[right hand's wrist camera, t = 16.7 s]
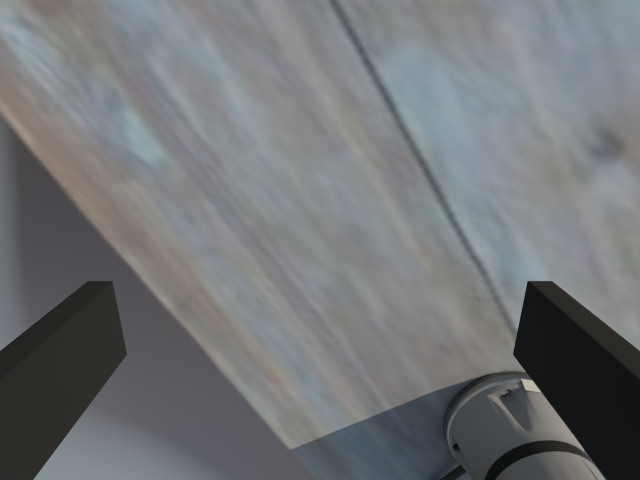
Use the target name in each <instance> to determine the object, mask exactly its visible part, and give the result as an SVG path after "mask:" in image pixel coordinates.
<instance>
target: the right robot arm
mask: <svg viewBox="0 0 640 480" xmlns="http://www.w3.org/2000/svg"><path fill="white" fill-rule="evenodd" d="M126 355H127V352H126V347H125V342H124V337H123V332H122V327H121V322H120V317H119V312H118V307H117V302H116V297H115V293H114V287H113V282H112V281H88V282H87V283H85V284H84V285H83V286H81V287H80V288H79V289H78V290H76V291H75V292H74V293H73V294H71V295H70V296H69V297H68V298H66V299H65V300H64V301H63V302H61V303H60V304H59V305H58V306H56V307H55V308H54V309H53V310H51V311H50V312H49V313H47V314H46V315H45V316H44V317H43V318H41V319H40V320H39V321H37V322H36V323H35V324H34V325H32V326H31V327H30V328H29V329H27V330H26V331H25V332H24V333H22V334H21V335H20V336H19V337H17V338H16V339H15V340H14V341H12V342H11V343H10V344H9V345H7V346H6V347H5V348H3V349H2V350H1V351H0V480H33V479H34V478H35V477H36V475H37V474H38V473H39V471H40V470H41V469H42V467H43V466H44V465H45V463H46V462H47V461H48V459H49V458H50V457H51V455H52V454H53V453H54V451H55V450H56V449H57V447H58V446H59V444H60V443H61V442H62V441H63V439H64V438H65V437H66V435H67V434H68V433H69V431H70V430H71V428H72V427H73V426H74V425H75V423H76V422H77V421H78V419H79V418H80V417H81V415H82V414H83V413H84V411H85V410H86V409H87V407H88V406H89V404H90V403H91V402H92V401H93V399H94V398H95V396H96V395H97V394H98V392H99V391H100V390H101V388H102V387H103V386H104V385H105V383H106V382H107V380H108V379H109V378H110V376H111V375H112V374H113V372H114V371H115V370H116V368H117V367H118V366H119V364H120V363H121V362H122V360H123V359H124V358H125V356H126ZM513 355H514V356H515V358H516V359H517V360H518V362H519V363H520V364H521V366H522V367H523V368H524V370H525V371H526V372H527V373H525V372H502V373H496V374H492V375H489V376H486V377H483V378H481V379H479V380H477V381H475V382H473V383H471V384H470V385H468V386H467V387H466V388H464V389H463V390H462V391H461V392H460V393H459V394H458V395H457V396H456V397H455V398H454V399H453V401H452V402H451V404H450V405H449V407H448V409H447V411H446V414H445V418H444V433H445V437H446V439H447V442H448V445H449V448H450V450H451V452H452V454H453V456H454V457H455V459H456V460H457V461H458V462H459V463H460V464H461V465H460V466H458V467H457V468H456V469H454V470H453V471H452V472H450V473H449V474H447V475H446V476H445V477H443V478H441V479H440V480H455V479H457V478H458V477H460V476H461V475H462V474H464V473H465V472H467V473H468V474H469V475H470V476H471V478H472V479H473V480H605V479H604V477H605V478H606V479H607V480H640V351H639V350H638V349H637V348H635V347H634V346H633V345H632V344H630V343H629V342H628V341H627V340H625V339H624V338H623V337H621V336H620V335H619V334H618V333H616V332H615V331H614V330H613V329H611V328H610V327H609V326H608V325H606V324H605V323H604V322H603V321H601V320H600V319H599V318H598V317H596V316H595V315H594V314H593V313H591V312H590V311H589V310H588V309H586V308H585V307H584V306H582V305H581V304H580V303H579V302H577V301H576V300H575V299H574V298H572V297H571V296H570V295H569V294H567V293H566V292H565V291H564V290H562V289H561V288H560V287H559V286H557V285H556V284H555V283H554V282H552V281H528V282H527V287H526V292H525V297H524V302H523V307H522V312H521V317H520V322H519V327H518V332H517V337H516V342H515V347H514V352H513ZM584 450H585V451H586V453H587V454H588V455H589V457H590V458H591V459H592V461H593V462H594V463H595V465H596V466H597V467H598V469H599V470H600V471H601V473H602V474H603V475H604V477H603V476H602V475H601V473H600V472H599V471H598V469H597V468H596V467H595V466H594V464H593V463H592V462H591V460H590V459H589V458H588V456H587V455H586V453H585V452H584Z"/></svg>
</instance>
